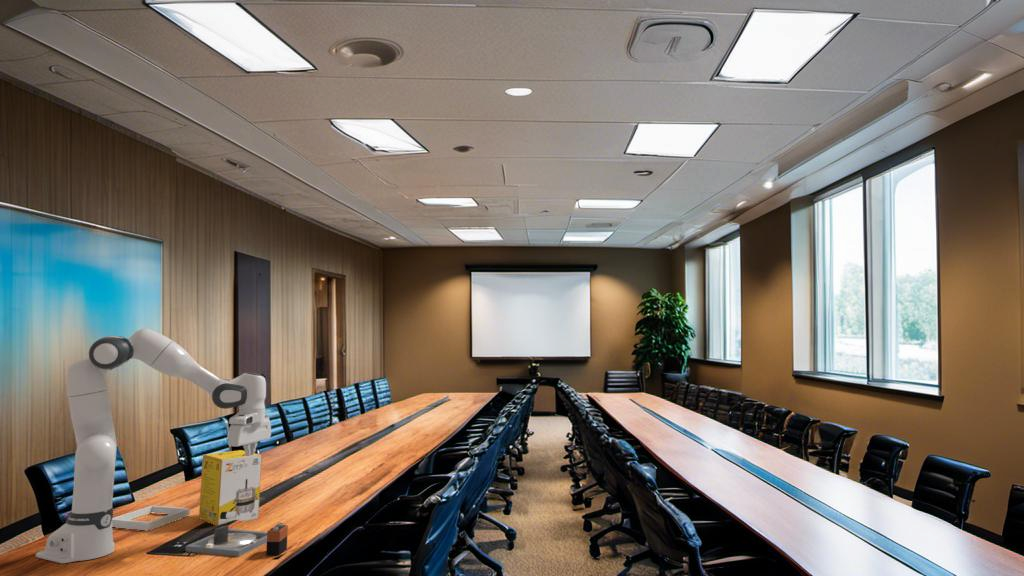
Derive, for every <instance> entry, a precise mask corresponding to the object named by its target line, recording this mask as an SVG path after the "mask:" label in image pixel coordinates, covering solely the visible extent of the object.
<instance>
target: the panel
mask: <svg viewBox="0 0 1024 576" xmlns="http://www.w3.org/2000/svg"><path fill="white" fill-rule="evenodd" d="M229 533H251V534H254V535H256V541H252V542H251V543H250V544H248V545H246V546H244V547H242V548H240V549H229V548H219V547H213V545H214V544H210V543H209V544H208V541H209V540H210V539H211V538H213V537H214V533H213V534H211V535H208V536H206V537H204V538H202V539H199V540H196V541H195V542H192V543H190V544H187V545H185V552H187V553H197V554H206V555H218V556H225V557H228V556H229V557H237V558H239V557H241V556H243V555H246V554H248V553H249V552H251V551H253V550H255V549H257V548H259V547H261V546H263V545H265V544H267V531H257V530H246V529H237V528H235V529H234V528H228V534H229Z"/></svg>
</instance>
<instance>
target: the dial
mask: <svg viewBox="0 0 1024 576" xmlns="http://www.w3.org/2000/svg"><path fill="white" fill-rule="evenodd" d="M213 529H214V531H213V534H214V537H213V538H211V539H210V540H209V541H208V544H209V543H210V544H214V545H213V547H219V548H229V549H240V548H242V547H244V546H246V545H248V544H250V543H251V542H252V541H256V540H257V538H256V535H254V534H251V533H229V534H228V529H229V525H225V526H220V527H217V528H213Z"/></svg>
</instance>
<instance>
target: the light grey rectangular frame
mask: <svg viewBox="0 0 1024 576" xmlns="http://www.w3.org/2000/svg"><path fill="white" fill-rule="evenodd" d="M190 511H191V508H188V507H177V506H165V505H163V506H162V505H150V506H146V507H143V508H140V509H136V510H134V511H130V512H127V513H124V514H121V515H118V516H113V518H112V521H111V522H112V527H116V528H115V529H118V528H126V529H125V530H129V529H138V530H137V531H139V530H150V531H152V530H151V529H153V528H156V527H158V526H161V525H163V524H167V523H169V522H172V521H175V520H178V519H180V518H183V517H185V516H187V515H189V516H190V514H191V512H190ZM151 512H155V513H166V514H170V515H164V516H162V517H160V518H159V517H158V518H156V519H152V520H150V521H141V520H131V519H133V518H136V517H139V516H142V515H145V514H148V513H151ZM183 519H184V518H183ZM180 520H181V519H180ZM178 521H179V520H178ZM175 522H176V521H175ZM172 523H173V522H172ZM169 524H170V523H169ZM167 525H168V524H167ZM161 527H162V526H161ZM158 528H159V527H158ZM156 529H157V528H156ZM153 530H154V529H153Z"/></svg>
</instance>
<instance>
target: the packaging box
mask: <svg viewBox="0 0 1024 576" xmlns="http://www.w3.org/2000/svg"><path fill="white" fill-rule="evenodd" d="M262 456H263V455H262V454H260V453H255V452H254V455H251V456H245V450H243V449H238V450H233V451H232V450H231V451H223V452H222V451H221V452H213V453H207V454H202V461H201V463H202V464H201V483H200V495H199V496H200V497H199V510H198V519H199V518H201V519H203V520H205V521H207V522H206V523H208V524H210V523H211V525H212V524H213V525H212V526H215V527H218V526H220V525H223V524H227V523H229V522H232V521H241V522H247V521H252V520H256V519H259V516H260V515H259V511H260V493H261V474H262ZM201 519H200V520H201ZM203 520H202V521H203ZM205 521H204V522H205Z"/></svg>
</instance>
